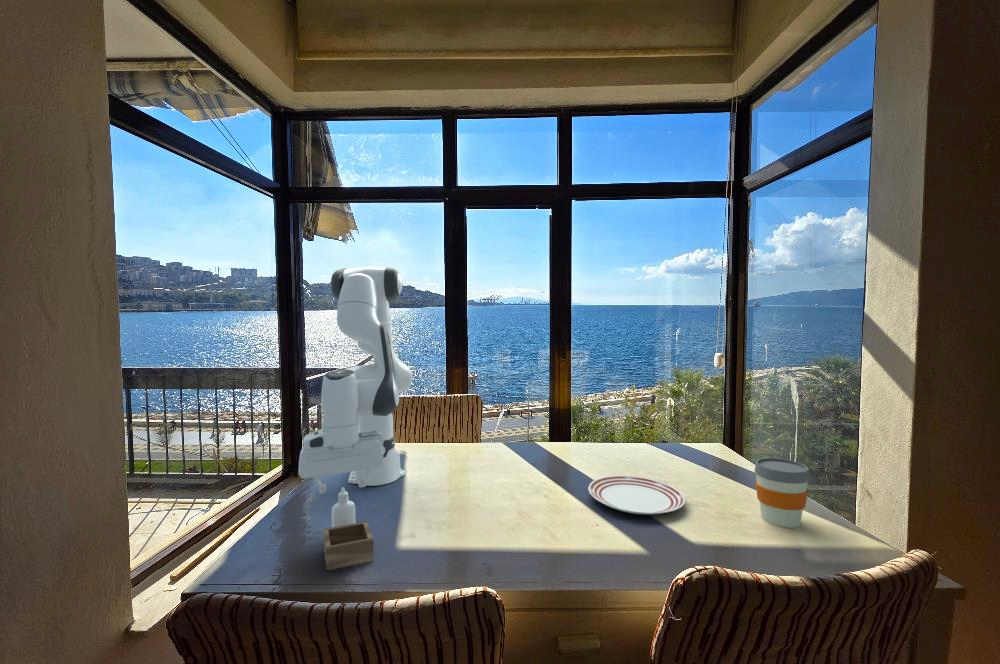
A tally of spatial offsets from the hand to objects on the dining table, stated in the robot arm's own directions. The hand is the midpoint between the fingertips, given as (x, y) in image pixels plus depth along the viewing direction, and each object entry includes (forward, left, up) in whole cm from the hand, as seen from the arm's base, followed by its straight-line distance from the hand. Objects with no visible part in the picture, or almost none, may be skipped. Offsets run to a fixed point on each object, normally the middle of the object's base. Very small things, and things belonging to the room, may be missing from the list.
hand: (342, 489), depth 116 cm
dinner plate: (+13, +81, -12) cm, 83 cm away
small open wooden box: (+10, 0, -12) cm, 16 cm away
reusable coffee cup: (+39, +108, -12) cm, 116 cm away
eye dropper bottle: (-1, 0, -12) cm, 12 cm away
